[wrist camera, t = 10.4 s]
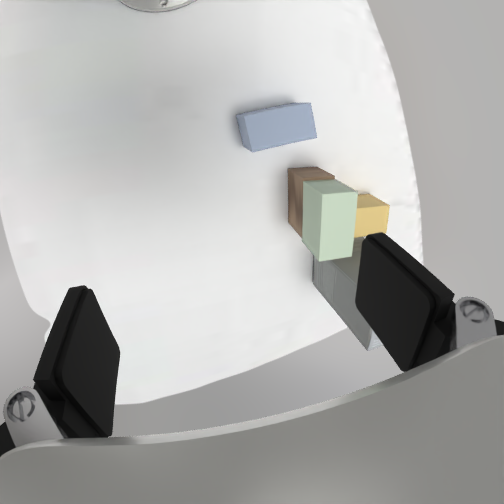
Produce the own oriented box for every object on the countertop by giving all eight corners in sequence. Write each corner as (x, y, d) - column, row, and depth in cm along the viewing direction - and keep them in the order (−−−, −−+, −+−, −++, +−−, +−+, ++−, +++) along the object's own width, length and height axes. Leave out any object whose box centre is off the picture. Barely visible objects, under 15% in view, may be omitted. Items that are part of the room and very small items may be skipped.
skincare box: (311, 282, 44) (361, 358, 30) (313, 238, 41) (373, 307, 27) (361, 273, 45) (420, 338, 31) (366, 230, 42) (436, 289, 28)
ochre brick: (322, 224, 40) (339, 239, 36) (323, 197, 38) (341, 209, 34) (366, 219, 41) (386, 233, 37) (369, 193, 39) (389, 205, 35)
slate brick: (243, 146, 33) (252, 152, 29) (235, 115, 32) (243, 115, 27) (300, 133, 34) (317, 137, 30) (294, 102, 32) (310, 102, 28)
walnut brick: (287, 168, 36) (302, 178, 31) (316, 166, 36) (334, 175, 32) (288, 222, 39) (301, 238, 34) (315, 219, 39) (332, 234, 35)
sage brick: (303, 181, 31) (322, 194, 27) (335, 179, 32) (357, 191, 28) (302, 240, 35) (318, 261, 30) (332, 237, 35) (351, 256, 31)
